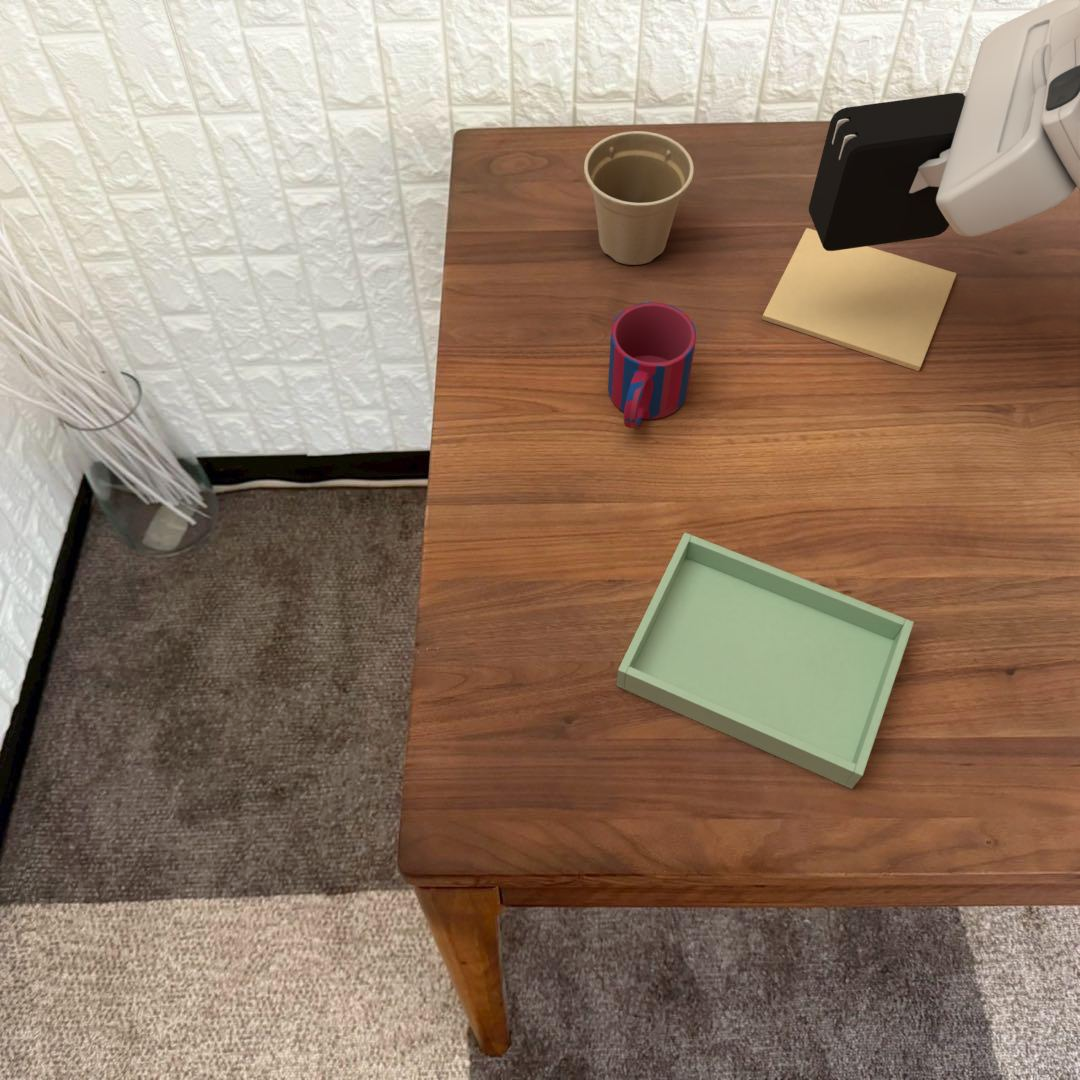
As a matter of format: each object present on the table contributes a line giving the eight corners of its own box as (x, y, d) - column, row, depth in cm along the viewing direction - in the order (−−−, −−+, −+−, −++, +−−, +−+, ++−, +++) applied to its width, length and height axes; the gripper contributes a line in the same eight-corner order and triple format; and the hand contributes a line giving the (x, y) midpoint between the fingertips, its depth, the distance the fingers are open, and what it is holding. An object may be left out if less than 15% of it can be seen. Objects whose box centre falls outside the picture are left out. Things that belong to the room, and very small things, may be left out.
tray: (902, 639, 73) (914, 621, 71) (852, 789, 68) (862, 776, 65) (680, 551, 77) (684, 531, 75) (615, 686, 72) (617, 669, 69)
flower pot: (701, 261, 93) (713, 185, 85) (608, 292, 91) (611, 216, 84) (656, 197, 97) (664, 119, 90) (566, 225, 96) (566, 148, 88)
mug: (698, 372, 86) (708, 316, 80) (656, 460, 82) (663, 408, 76) (625, 348, 88) (629, 292, 82) (580, 434, 83) (581, 380, 77)
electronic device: (945, 236, 79) (990, 128, 71) (821, 253, 79) (850, 147, 70) (927, 198, 81) (968, 89, 73) (805, 215, 81) (833, 108, 72)
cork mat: (954, 277, 91) (957, 273, 91) (918, 371, 86) (921, 367, 85) (805, 232, 94) (806, 227, 94) (761, 319, 89) (762, 315, 89)
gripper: (1103, -57, 69) (916, 47, 79) (1065, 128, 59) (857, 218, 70) (1140, 19, 72) (954, 110, 82) (1109, 207, 62) (904, 282, 73)
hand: (909, 161), depth 76 cm, fingers closed on electronic device, 3 cm apart
